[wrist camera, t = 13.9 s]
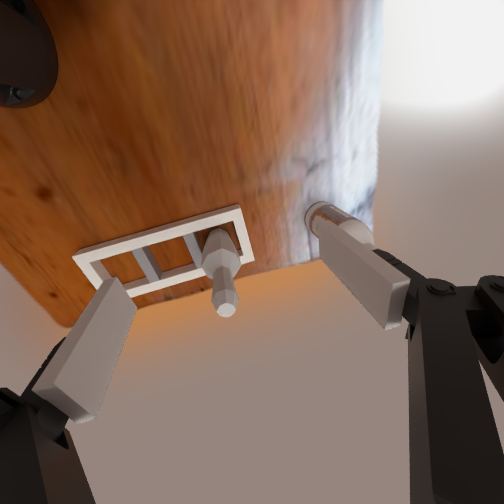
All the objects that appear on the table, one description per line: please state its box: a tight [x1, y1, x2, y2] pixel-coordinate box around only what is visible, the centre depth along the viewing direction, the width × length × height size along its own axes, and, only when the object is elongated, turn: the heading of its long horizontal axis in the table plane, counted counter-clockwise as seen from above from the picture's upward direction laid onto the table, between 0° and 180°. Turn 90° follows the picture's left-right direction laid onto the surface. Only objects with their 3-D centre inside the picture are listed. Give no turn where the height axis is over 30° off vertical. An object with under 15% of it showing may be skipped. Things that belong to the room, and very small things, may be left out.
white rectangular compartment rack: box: [72, 204, 255, 298], centre depth 45 cm, size 32×12×3 cm, turn 104°
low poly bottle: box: [201, 228, 241, 317], centre depth 37 cm, size 6×6×22 cm
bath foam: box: [305, 202, 381, 250], centre depth 40 cm, size 7×7×20 cm
